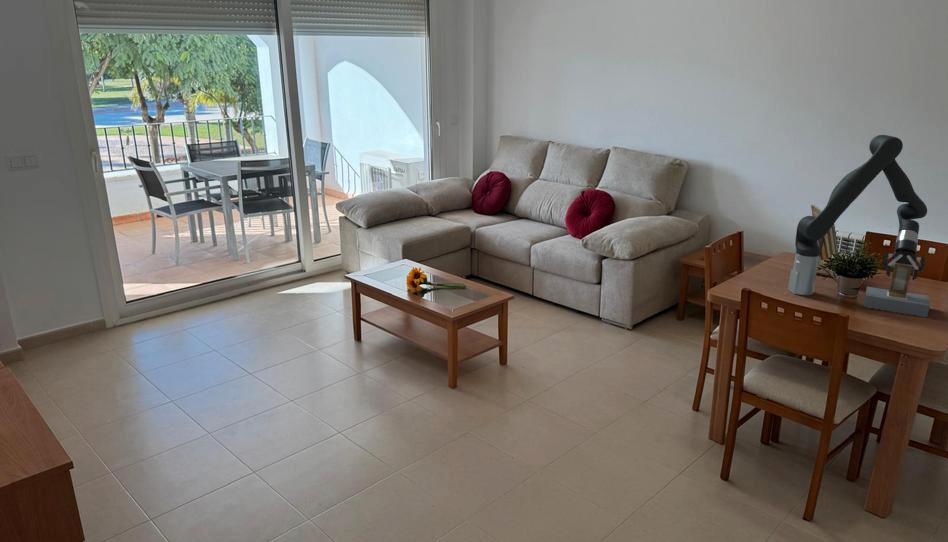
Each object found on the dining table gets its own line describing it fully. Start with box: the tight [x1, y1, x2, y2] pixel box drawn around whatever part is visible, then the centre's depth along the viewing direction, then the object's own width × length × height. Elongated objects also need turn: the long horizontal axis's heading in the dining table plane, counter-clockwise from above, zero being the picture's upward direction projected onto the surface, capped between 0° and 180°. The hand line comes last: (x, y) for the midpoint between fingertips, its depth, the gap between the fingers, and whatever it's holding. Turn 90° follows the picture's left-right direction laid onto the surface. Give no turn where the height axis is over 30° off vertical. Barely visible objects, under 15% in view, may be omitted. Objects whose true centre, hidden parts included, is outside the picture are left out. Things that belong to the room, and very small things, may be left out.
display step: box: [863, 286, 931, 318], centre depth 277 cm, size 22×14×5 cm, turn 59°
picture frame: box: [810, 204, 839, 282], centre depth 317 cm, size 33×10×30 cm, turn 168°
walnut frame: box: [888, 263, 913, 298], centre depth 274 cm, size 6×6×13 cm
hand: (901, 277), depth 273 cm, fingers open, 8 cm apart
